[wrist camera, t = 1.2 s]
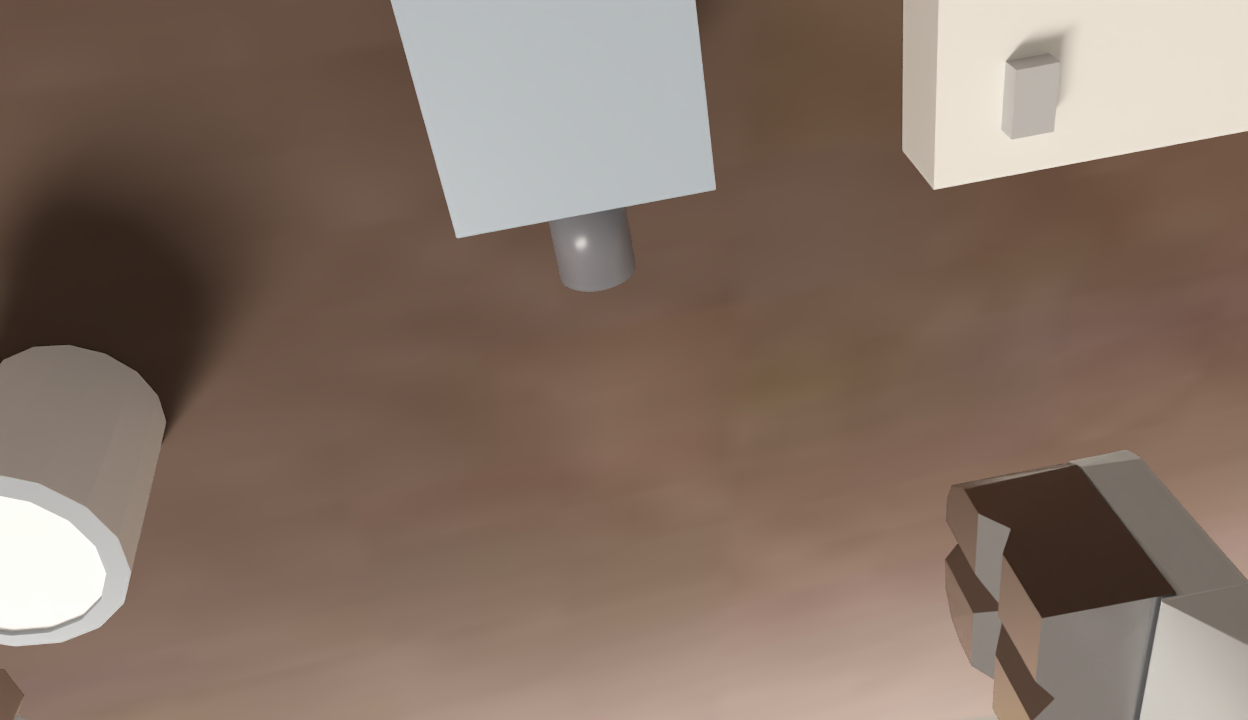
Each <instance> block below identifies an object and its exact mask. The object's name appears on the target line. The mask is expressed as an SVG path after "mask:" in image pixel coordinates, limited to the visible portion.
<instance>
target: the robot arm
mask: <svg viewBox="0 0 1248 720" xmlns="http://www.w3.org/2000/svg"><path fill="white" fill-rule="evenodd" d="M946 522H947V523H948V525H949V527H950V529H951V531H952V533H953V535H954V536H955V538H956V540H957V542H958V544H957V545H956V546H955V548H954V549H953V550H952V551H951V553H950V554H949V555H948V556H947V558H946V559H945V580H946V592H947V598H948V603H949V608H950V613H951V618H952V621H953V624H954V627H955V629H956V632H957V635H958V638H959V641H960V643H961V645H962V647H963V649H964V651H965V653H966V655H967V657H968V660H969V662H970V664H971V666H973V667H975V668H976V669H978V670H979V671H981V672H983V673H984V674H986V675H988V676H989V677H991V678H992V679H994V691H993V710H994V712H995V714H996V716H997V718H998V720H1248V580H1247V579H1246V578H1245V576H1244V575H1243V574H1242V573H1241V572H1240V571H1239V570H1238V568H1237V567H1236V566H1235V565H1234V564H1233V563H1232V562H1231V560H1230V559H1229V558H1228V557H1227V556H1226V555H1225V554H1224V552H1223V551H1222V550H1221V549H1220V548H1219V547H1218V546H1217V544H1216V543H1215V542H1214V541H1213V540H1212V539H1211V538H1210V536H1209V535H1208V534H1207V533H1206V532H1205V531H1204V530H1203V528H1202V527H1201V526H1200V525H1199V524H1198V523H1197V522H1196V521H1195V519H1194V518H1193V517H1192V516H1191V515H1190V514H1189V513H1188V511H1187V510H1186V509H1185V508H1184V507H1183V506H1182V505H1181V503H1180V502H1179V501H1178V500H1177V499H1176V498H1175V497H1174V495H1173V494H1172V493H1171V492H1170V491H1169V490H1168V489H1167V487H1166V486H1165V485H1164V484H1163V483H1162V482H1161V481H1160V479H1159V478H1158V477H1157V476H1156V475H1155V474H1154V473H1153V471H1152V470H1151V469H1150V468H1149V467H1148V466H1147V465H1146V463H1145V462H1144V461H1143V460H1142V459H1141V458H1140V457H1139V456H1138V455H1136V454H1134V453H1132V452H1130V451H1128V450H1123V451H1118V452H1113V453H1108V454H1103V455H1098V456H1094V457H1089V458H1084V459H1079V460H1074V461H1069V462H1068V463H1066V464H1057V465H1052V466H1047V467H1042V468H1037V469H1032V470H1027V471H1022V472H1017V473H1012V474H1006V475H1001V476H996V477H991V478H986V479H981V480H976V481H971V482H966V483H961V484H956V485H952V486H951V489H950V491H949V494H948V497H947V511H946ZM23 697H24V694H23V693H22V691H21V690H20V689H19V687H18V686H17V685H16V684H15V682H14V681H13V680H12V679H11V677H10V676H9V675H8V673H7V672H6V671H5V670H4V669H0V720H28V719H26V718H24V717H21V716H19V715H18V714H19V711H20V707H21V704H22V701H23Z"/></svg>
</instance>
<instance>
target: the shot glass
mask: <svg viewBox="0 0 1248 720" xmlns="http://www.w3.org/2000/svg"><path fill="white" fill-rule="evenodd" d="M165 425H166V419H165V416H164V413H163V410H162V406H161V403H160V400H159V397H158V395H157V394H156V393H155V392H154V391H153V389H152V388H151V387H150V386H149V385H148V384H147V383H146V381H145V380H144V379H143V378H142V377H141V376H140V375H139V373H138V372H136V371H135V370H133V369H131V368H130V367H128V366H126V365H124V364H123V363H121V362H119V361H117V360H116V359H114V358H112V357H110V356H109V355H107V354H105V353H100V352H96V351H92V350H88V349H84V348H80V347H76V346H72V345H57V346H40V347H32V348H29V349H27V350H25V351H22V352H20V353H18V354H16V355H13V356H11V357H9V358H7V359H4V360H3V361H2V362H1V363H0V644H4V645H10V646H24V645H36V644H48V643H60V642H64V641H66V640H69V639H71V638H74V637H76V636H79V635H82V634H84V633H87V632H89V631H92V630H94V629H97V628H99V627H101V626H102V625H103V624H104V623H105V622H106V621H107V620H108V619H109V618H110V617H111V616H112V615H113V614H114V613H115V612H116V611H117V610H118V609H119V608H120V607H121V606H122V605H123V604H124V601H125V597H126V593H127V588H128V584H129V580H130V576H131V571H132V567H133V563H134V559H135V554H136V550H137V546H138V541H139V537H140V533H141V529H142V524H143V520H144V516H145V512H146V507H147V503H148V499H149V495H150V490H151V486H152V482H153V478H154V473H155V469H156V465H157V461H158V456H159V452H160V448H161V443H162V439H163V434H164V430H165Z"/></svg>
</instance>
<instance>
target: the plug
mask: <svg viewBox="0 0 1248 720" xmlns="http://www.w3.org/2000/svg"><path fill="white" fill-rule="evenodd" d="M391 3H392V7H393V10H394V14H395V17H396V21H397V25H398V28H399V32H400V35H401V39H402V43H403V46H404V50H405V53H406V57H407V61H408V64H409V68H410V72H411V75H412V79H413V82H414V86H415V90H416V93H417V97H418V100H419V104H420V108H421V111H422V115H423V118H424V122H425V126H426V129H427V133H428V136H429V140H430V144H431V147H432V151H433V154H434V158H435V162H436V165H437V169H438V172H439V176H440V180H441V183H442V187H443V190H444V194H445V198H446V201H447V205H448V208H449V212H450V216H451V219H452V223H453V226H454V230H455V234H456V237H457V238H461V237H466V236H472V235H477V234H482V233H488V232H493V231H498V230H504V229H509V228H514V227H520V226H525V225H530V224H536V223H541V222H546V221H548V222H549V226H550V231H551V236H552V240H553V245H554V249H555V254H556V259H557V263H558V268H559V272H560V277H561V281H562V282H563V284H564V285H566V286H567V287H569V288H571V289H573V290H577V291H586V292H592V291H600V290H605V289H609V288H612V287H615V286H617V285H619V284H621V283H623V282H624V281H626V280H627V279H628V278H629V277H630V276H631V275H632V274H633V273H634V271H635V259H634V253H633V247H632V241H631V235H630V229H629V223H628V217H627V211H626V206H631V205H637V204H642V203H647V202H653V201H658V200H663V199H669V198H674V197H679V196H685V195H690V194H695V193H701V192H706V191H711V190H716V186H715V176H714V167H713V158H712V149H711V140H710V130H709V121H708V112H707V103H706V94H705V85H704V75H703V66H702V57H701V48H700V39H699V29H698V20H697V11H696V2H695V0H391Z"/></svg>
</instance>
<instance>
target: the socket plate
mask: <svg viewBox="0 0 1248 720" xmlns="http://www.w3.org/2000/svg"><path fill="white" fill-rule="evenodd" d="M1244 131H1248V0H903V126H902V150H903V152H904V153H905V154H906V155H907V157H908V158H909V159H910V160H911V162H912V163H913V164H914V166H915V167H916V168H917V169H918V171H919V172H920V173H921V174H922V176H923V177H924V178H925V179H926V181H927V182H928V183H929V184H930V186H931V187H932V188H933V189H934V190H935V189H940V188H946V187H951V186H956V185H962V184H967V183H972V182H977V181H983V180H988V179H993V178H999V177H1004V176H1009V175H1015V174H1020V173H1025V172H1031V171H1036V170H1041V169H1047V168H1052V167H1057V166H1063V165H1068V164H1073V163H1079V162H1084V161H1089V160H1095V159H1100V158H1105V157H1111V156H1116V155H1121V154H1127V153H1132V152H1137V151H1143V150H1148V149H1153V148H1159V147H1164V146H1169V145H1175V144H1180V143H1185V142H1191V141H1196V140H1201V139H1207V138H1212V137H1217V136H1223V135H1228V134H1233V133H1239V132H1244Z"/></svg>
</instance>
